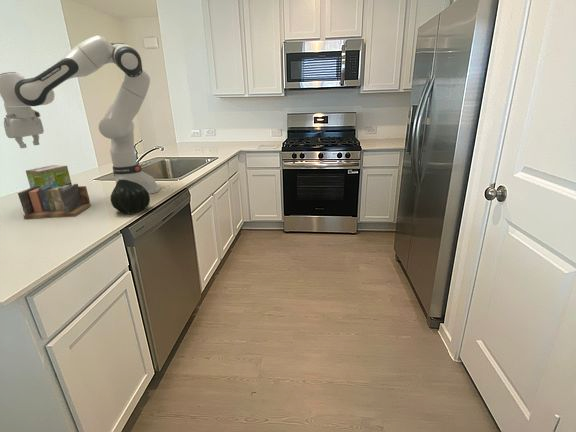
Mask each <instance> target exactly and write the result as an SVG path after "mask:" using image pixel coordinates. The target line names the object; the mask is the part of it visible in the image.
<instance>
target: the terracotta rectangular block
mask: <svg viewBox="0 0 576 432" xmlns="http://www.w3.org/2000/svg"><path fill="white" fill-rule="evenodd" d="M38 189H39V188H37V189H34V190H32V191H30V192H28V193H29V196H30V199H31V202H32V205H33V208H34V212H43V211H45V210H44V207H43V203H42V200H41V197H40V194H39V190H38Z"/></svg>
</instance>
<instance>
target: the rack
mask: <svg viewBox="0 0 576 432" xmlns="http://www.w3.org/2000/svg"><path fill="white" fill-rule="evenodd" d="M37 188H39V189H38V190H39V194H40V197H41V200H42V203H43V207H44V210H45V211H43V212H34V208H33V205H32V202H31V199H30V196H29V193H28V192H30V191H32V190H34V189H37ZM17 195H18V199H19V201H20V204H21V207H22V210H23V214H24V215H23V219H24V220H35V219H48V218H49V219H53V217H55V218H69V217H77V216H78V215H80V214H81V213H83V212H84V211H86V210H87V209H89V208H90V207H92V205H91V200H90V197H89V193H88V190H87V185H85V186H81V185H80V186H79V184H78V183H74V184H72V186H71V185H63V186H58V187H55V188H52V186H44V187H42V188H40V187H39V186H34V187H32V188H30V187H29V188H27V189H24V190H22V191H19V192H17Z"/></svg>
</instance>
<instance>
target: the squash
mask: <svg viewBox="0 0 576 432" xmlns="http://www.w3.org/2000/svg"><path fill="white" fill-rule="evenodd" d="M110 194H111V195H110V203H111V206H112V207H113V208H114V209H115V210H116V211H117V212H119V213H120V214H125V215H127V214H129V215H131V214H134V213H135V212H139V211H141V210H142V209H143V210H145V209H146V208H148V207H149V205H150V200H151V197H150V194H149V193H148V192H147V190H146V189H145V188H144V187H143V186H142V185H140V184H138V183H135V182H132V181H128V180H121V179H119V181H118V182H117V184H116V183H115V186H114V188H113V190H112V192H111V193H110ZM143 210H142V211H143Z"/></svg>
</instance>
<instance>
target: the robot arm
mask: <svg viewBox="0 0 576 432" xmlns="http://www.w3.org/2000/svg"><path fill="white" fill-rule="evenodd" d="M142 62H143V61H142V58H141V55H140V54H139V52H138V51H137V50H136V49H135V48H134V47H133V46H132V45H130V44H127V43H122V42H116V43H115V42H112V43H111V42H110V41H109V40H108V39H107V38H105V37H104V36H102V35H99V34H98V35H97V34H96V35H93V36H91V37H89V38H86V39H85V40H83V41H82V42H80V43H78V44H77V45H76V46H74V47H73V48H71V49H70V50H69V51H68V52H67V53H66V54H65V55H64V56H63V57H62V58H60V60H59V61H58V62H56V63H54V64H53V65H52V66H50V67H49V68H47V69H46V70H44V71H43V72H40V73H39V74H38V75H36V76H34V77H30V78H29V77H26V76H24V75H22V74H21V73H19V72H15V71H11V72H2V73H1V74H0V97H1V98H2V100H3V107H4V109H5V112H6V115H4V118H3V127H4V133H5V135H6V137H7V138H8V139H14V140H15V141H16V143H17V144H18V146H19V148H20V149H25V148H27V144H26V143H25V142H24V139H23V138H25V137H32V138H33V139H32V140H33V141H32V144H33V146H39V145H40V135H42V134H44V126H43V123H42V120H41V113H40V112H39V111H37V110H35V109H33V108H32V107H38V106H46V105H49V104H52V103H53V101H54V100H55V92H54V90H55V88H57V87H58V86H60V85H61V84H63V83H64V82H66V81H68V80H71V79H73V78H83V77H87V76H90V75H91V74H94V73H95V72H97V71H98V70H99V69H101V68H102V67H103V66H105V65H108V64H111V63H112V64H115V65H116V67H118V68H119V69H120V70H121V71H122V72H123V73H124V77H123V79H124V80H123V81H122V83H121V85H120V87H119V90H118V92H117V94H116V96H115V98H114V101H113V102H112V104H111V105H110V107H109V108H108V109H107V111H106V113H105V114H104V116H103V118H102V119H101V120H100V121H99V123H98V132H99V133H100V134H101V135H102V136H103V137H104V138H106V139H109V140H110V150H109V152H110V157H111V162H112V173H113V176H114V178H115V185H116V184H117V182H118V181H119V179H121V180H128V181H132V182H135V183H138V184H140V185H142V186H143V187H144V188H145V189H146V190H147V192H148V193H149V195H151V194H155V193H157V192H159V191H160V190H161V189H162V186H161V185H160V184H157V183H156V180H155V178H154V177H153V176H151V175H150V174H148V173H146V172H145V171H143V170H142V167H143V166H142V164H140V165H139V164H138V163H137V159H136V152H135V138H134V136H135V134H134V130H135V124H134V122H133V120H134V118H135V117H136V116H137V115H138V113H139V111H140V109H141V107H142V105H143V103H144V100H145V98H146V97H147V94H148V91H149V87H150V84H151V77H150V75H149V74H148V73H147V71H145V70H144V69H143V64H142Z"/></svg>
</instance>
